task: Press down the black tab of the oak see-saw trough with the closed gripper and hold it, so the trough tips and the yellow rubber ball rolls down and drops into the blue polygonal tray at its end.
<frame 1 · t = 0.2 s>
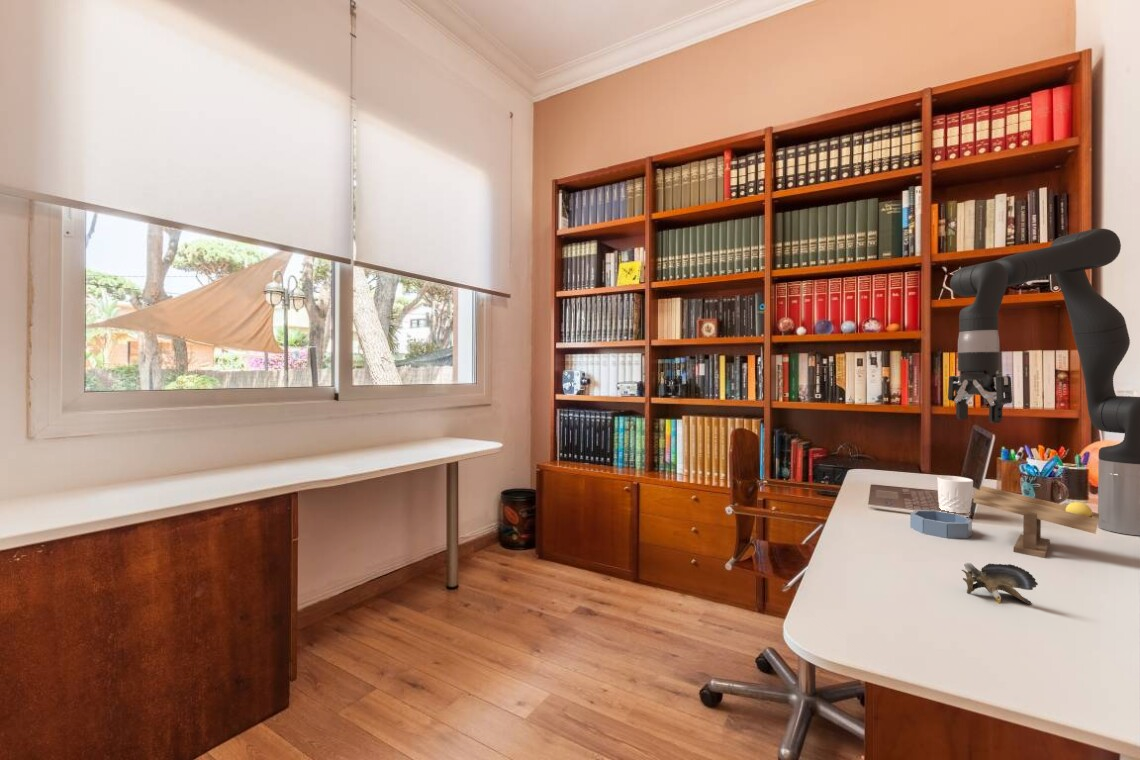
hand: (978, 420, 118), 28 cm above the table, tool pointing down, fingers open, 8 cm apart
white cup: (954, 515, 140), on the table
lever stand: (1032, 547, 113), on the table
blue polygonal tray: (940, 530, 126), on the table
tipping trough: (1033, 505, 115), point 9 cm above the table, hinge at 8.0°, touching ball
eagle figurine: (996, 599, 88), on the table
ball: (1078, 511, 108), point 9 cm above the table, tilted 14°, touching tipping trough
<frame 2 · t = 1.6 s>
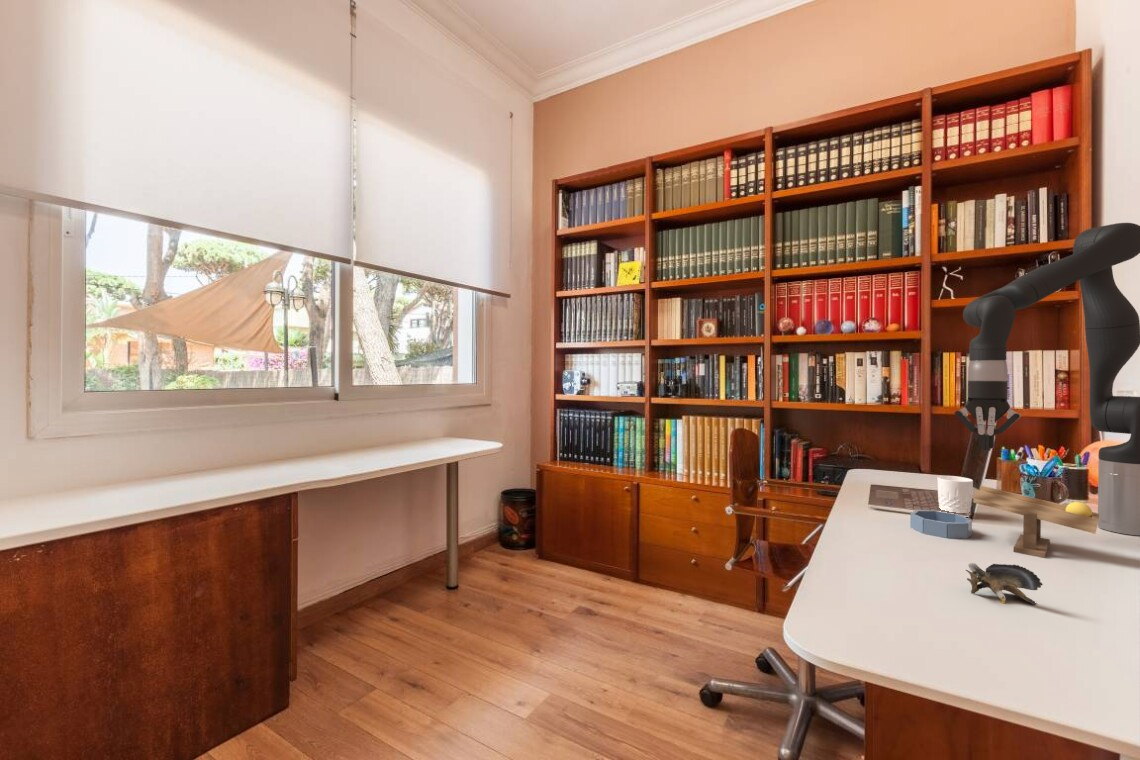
hand: (986, 450, 124), 20 cm above the table, tool pointing down, fingers closed
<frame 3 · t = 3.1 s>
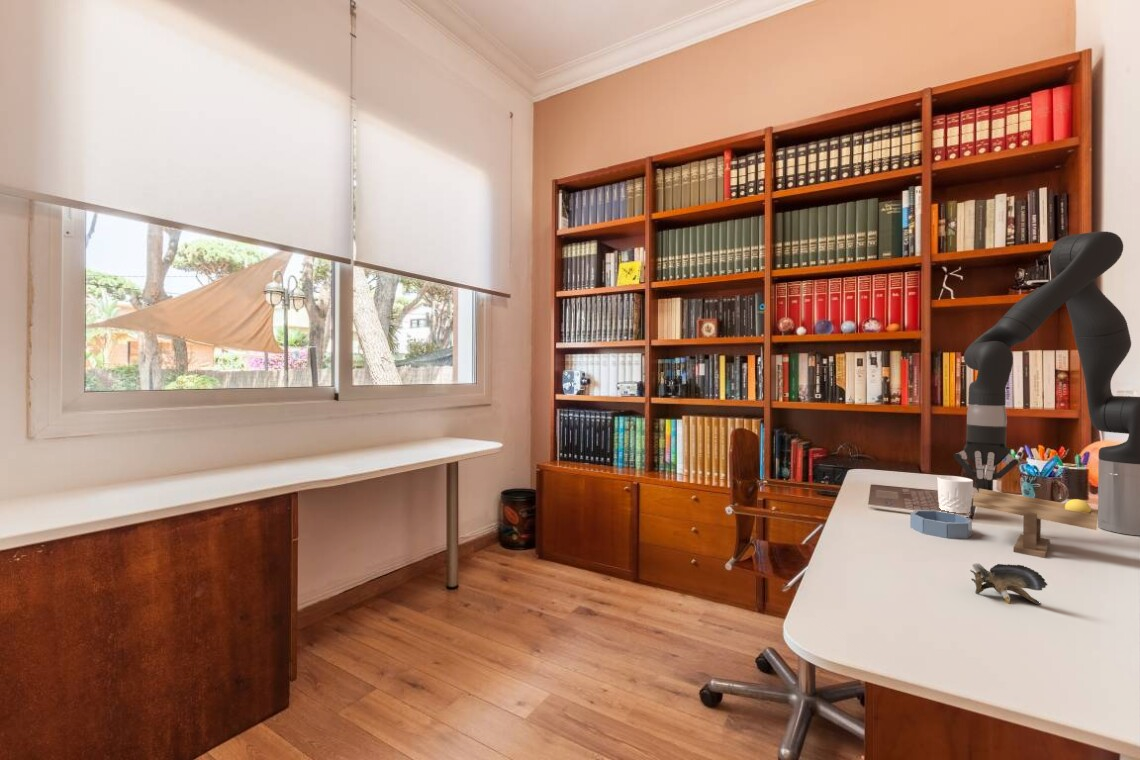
hand: (985, 494, 124), 9 cm above the table, tool pointing down, fingers closed
tipping trough: (1032, 505, 115), point 9 cm above the table, hinge at 3.3°, touching ball, gripper
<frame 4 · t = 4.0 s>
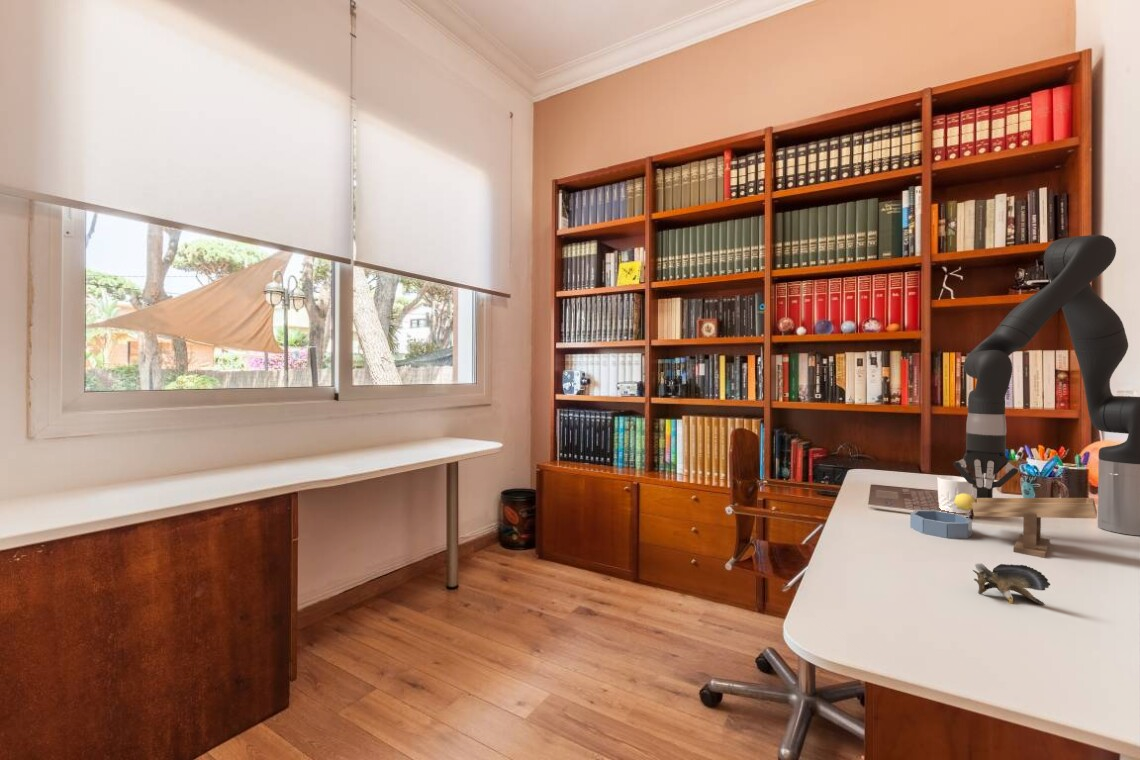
hand: (984, 502, 124), 7 cm above the table, tool pointing down, fingers closed
tipping trough: (1031, 505, 116), point 9 cm above the table, hinge at -10.2°, touching gripper
ball: (964, 502, 122), point 8 cm above the table, tilted 178°
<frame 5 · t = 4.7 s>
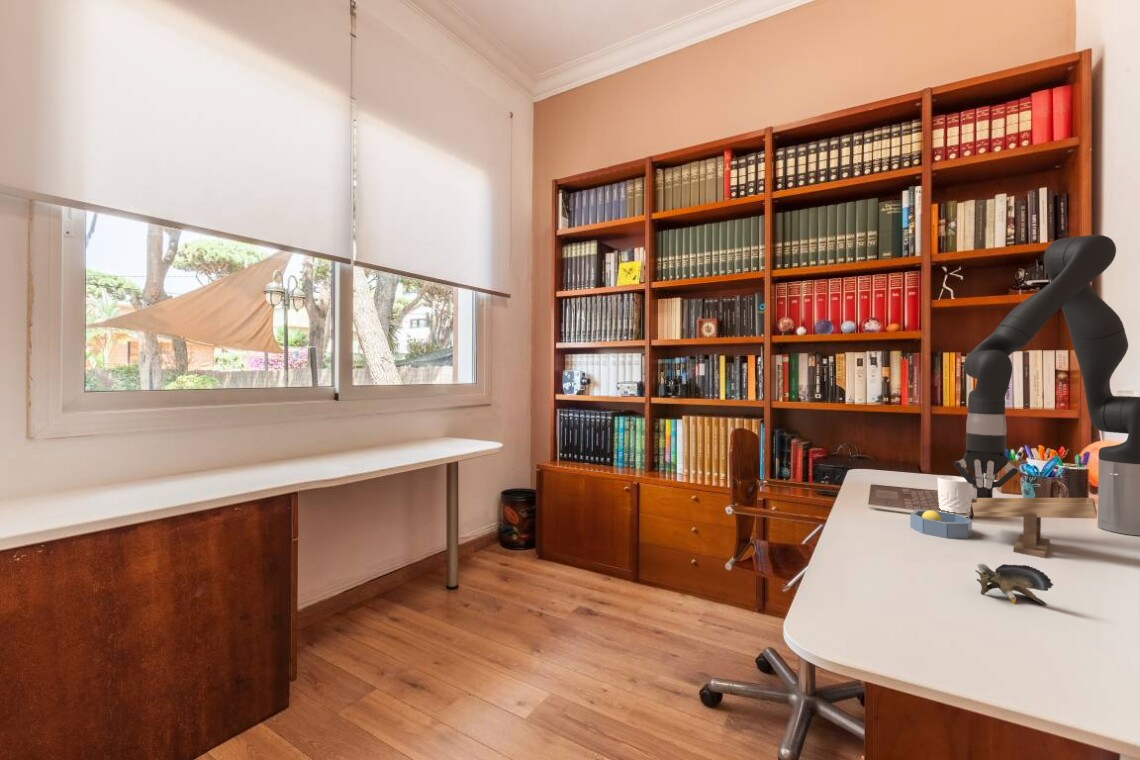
hand: (984, 502, 124), 7 cm above the table, tool pointing down, fingers closed
ball: (931, 518, 127), point 3 cm above the table, tilted 68°, touching blue polygonal tray
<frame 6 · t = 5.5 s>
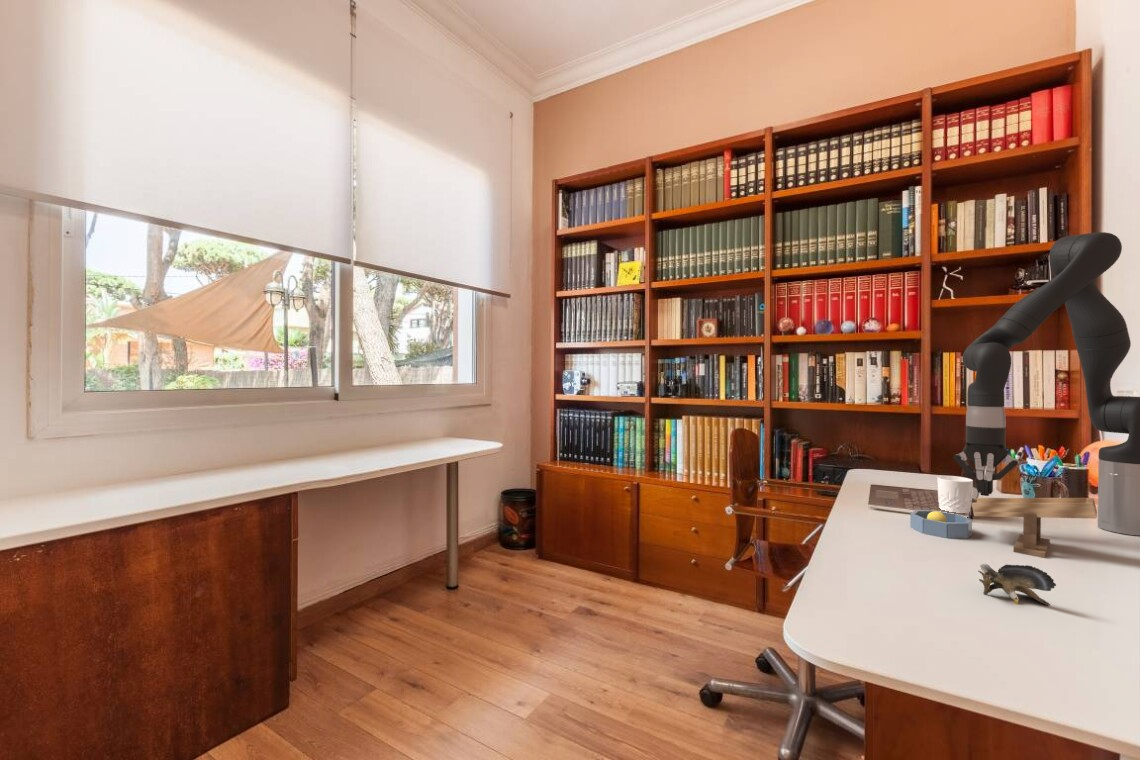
hand: (985, 495, 125), 9 cm above the table, tool pointing down, fingers closed
tipping trough: (1031, 505, 116), point 9 cm above the table, hinge at -10.2°
ball: (936, 519, 126), point 3 cm above the table, tilted 38°, touching blue polygonal tray
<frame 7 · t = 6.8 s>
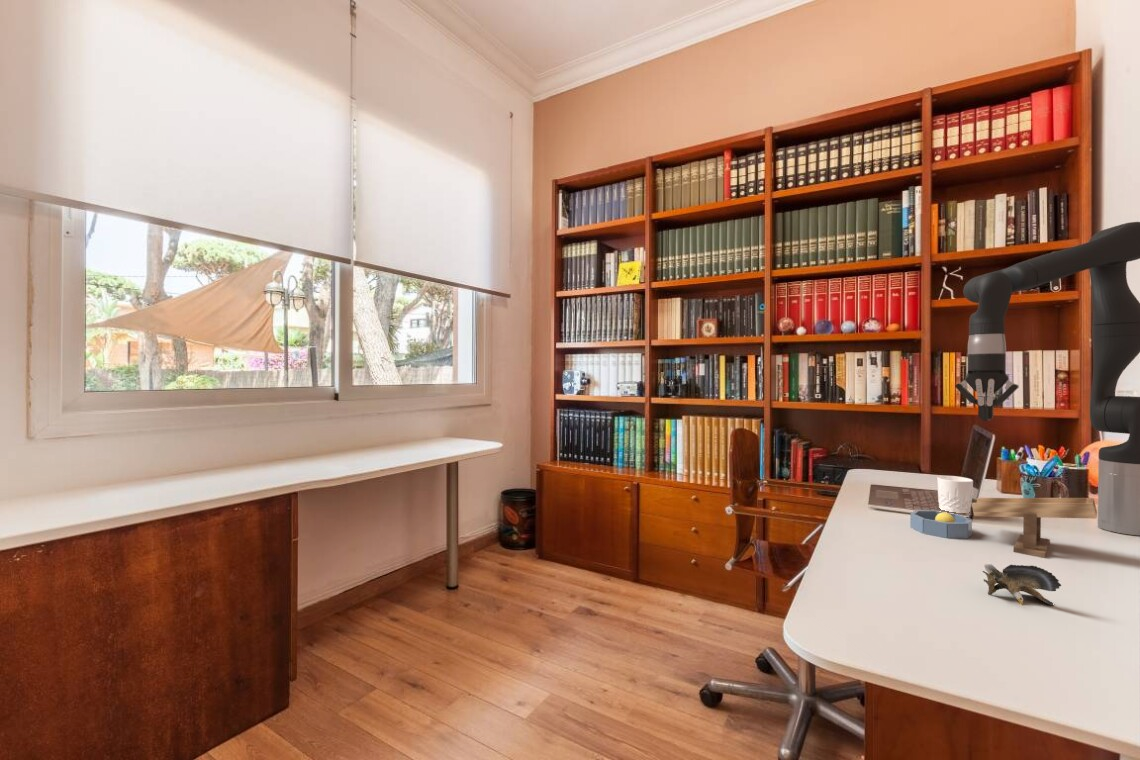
hand: (985, 420, 129), 27 cm above the table, tool pointing down, fingers closed
ball: (945, 521, 125), point 3 cm above the table, tilted 10°, touching blue polygonal tray
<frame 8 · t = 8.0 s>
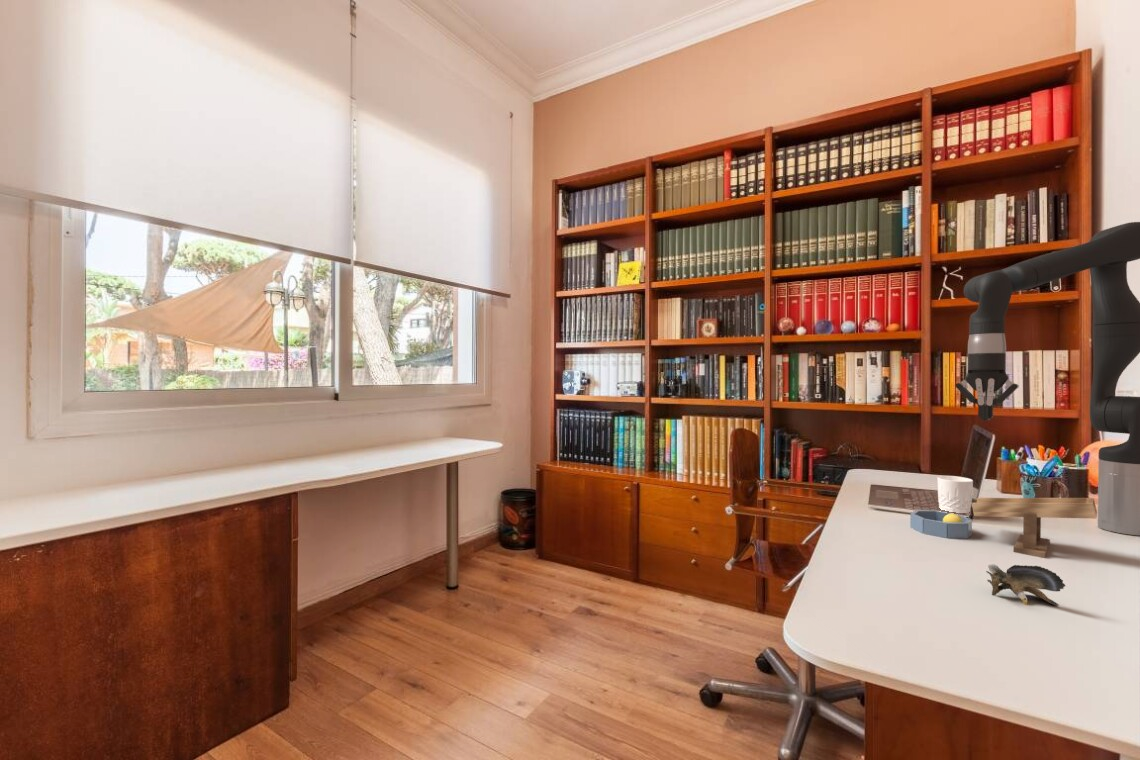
hand: (985, 420, 129), 27 cm above the table, tool pointing down, fingers closed
ball: (952, 522, 124), point 3 cm above the table, tilted 55°, touching blue polygonal tray
at the end: ball 2.6 cm from the blue polygonal tray (horizontally); ball point 2.6 cm above the table; tipping trough at -10° (first picture: +8°) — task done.
